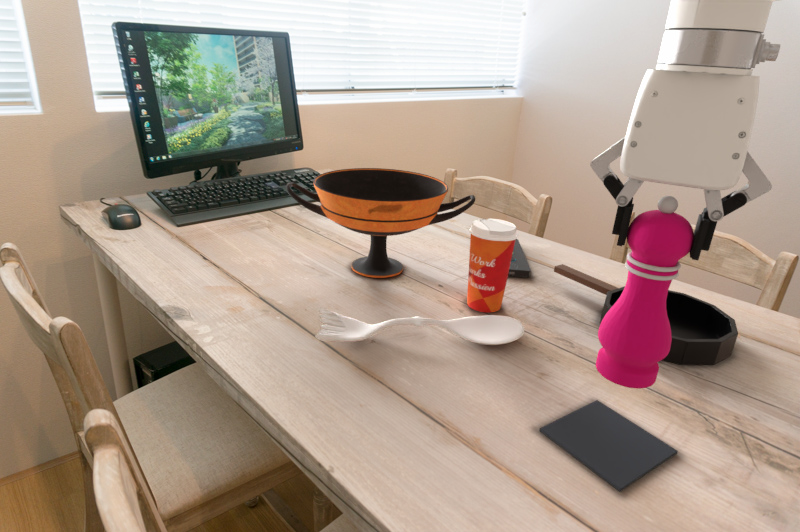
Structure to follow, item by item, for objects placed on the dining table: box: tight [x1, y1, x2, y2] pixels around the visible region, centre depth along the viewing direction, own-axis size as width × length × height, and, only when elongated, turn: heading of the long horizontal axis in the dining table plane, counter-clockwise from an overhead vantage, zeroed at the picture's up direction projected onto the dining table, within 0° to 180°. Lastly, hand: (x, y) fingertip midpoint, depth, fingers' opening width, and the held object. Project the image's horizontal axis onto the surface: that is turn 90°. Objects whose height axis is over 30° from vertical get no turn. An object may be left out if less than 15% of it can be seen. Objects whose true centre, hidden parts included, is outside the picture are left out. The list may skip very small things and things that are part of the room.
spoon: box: [314, 307, 525, 346], centre depth 81 cm, size 9×32×4 cm, turn 96°
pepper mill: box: [595, 195, 694, 390], centre depth 55 cm, size 7×7×20 cm
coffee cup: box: [466, 217, 519, 314], centre depth 91 cm, size 8×8×15 cm
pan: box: [553, 263, 739, 366], centre depth 92 cm, size 33×20×4 cm, turn 34°
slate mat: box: [539, 399, 679, 492], centre depth 62 cm, size 11×11×1 cm
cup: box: [286, 167, 476, 279], centre depth 104 cm, size 36×26×18 cm
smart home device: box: [508, 238, 531, 279], centre depth 116 cm, size 8×2×20 cm
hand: (656, 247), depth 53 cm, fingers closed on pepper mill, 6 cm apart
